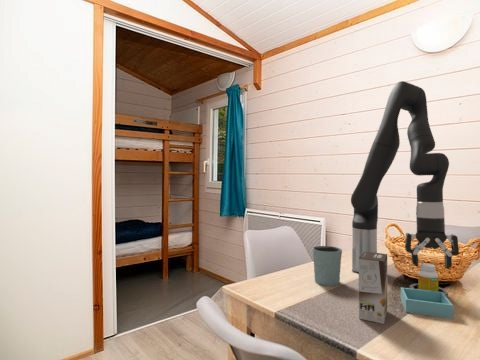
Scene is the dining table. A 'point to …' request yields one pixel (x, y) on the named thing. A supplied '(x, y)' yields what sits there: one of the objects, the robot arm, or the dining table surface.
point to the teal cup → (327, 265)
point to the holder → (415, 286)
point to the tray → (426, 302)
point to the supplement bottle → (428, 278)
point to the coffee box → (373, 287)
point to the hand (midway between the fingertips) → (431, 266)
